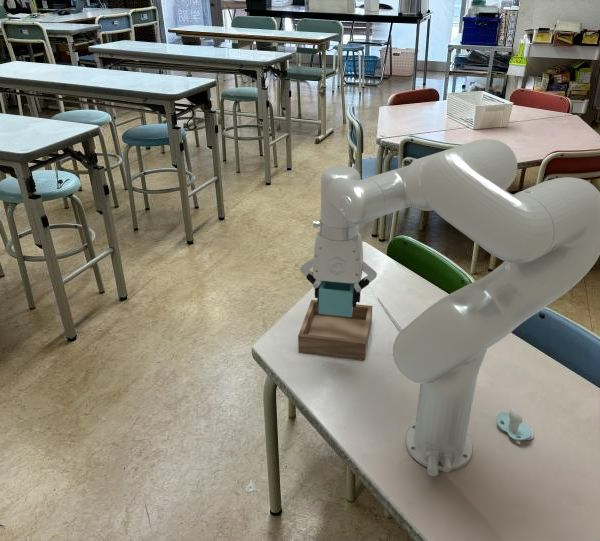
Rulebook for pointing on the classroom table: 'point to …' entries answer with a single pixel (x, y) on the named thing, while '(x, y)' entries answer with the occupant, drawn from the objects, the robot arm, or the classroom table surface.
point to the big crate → (336, 333)
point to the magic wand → (390, 316)
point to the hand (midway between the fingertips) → (337, 301)
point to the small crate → (336, 298)
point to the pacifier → (515, 425)
